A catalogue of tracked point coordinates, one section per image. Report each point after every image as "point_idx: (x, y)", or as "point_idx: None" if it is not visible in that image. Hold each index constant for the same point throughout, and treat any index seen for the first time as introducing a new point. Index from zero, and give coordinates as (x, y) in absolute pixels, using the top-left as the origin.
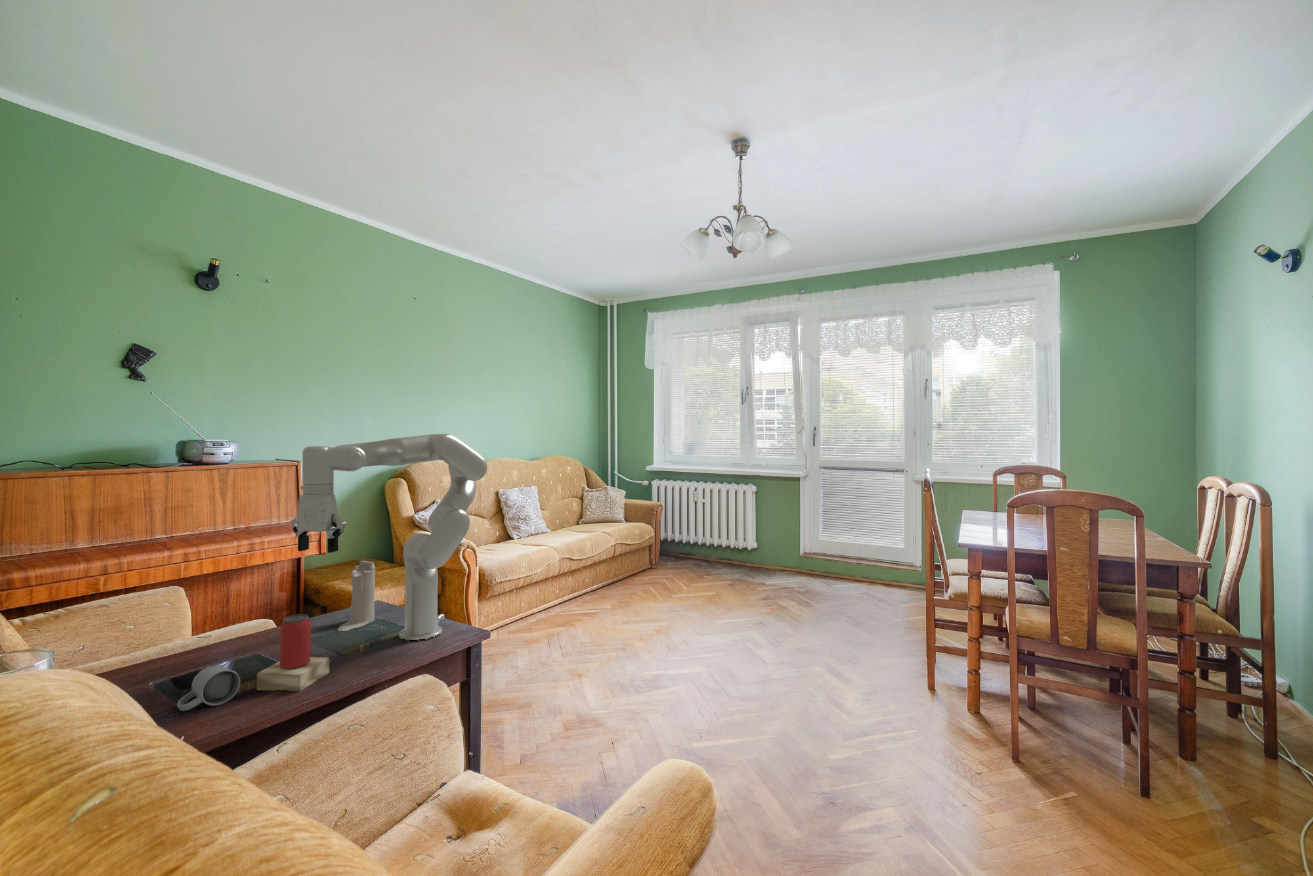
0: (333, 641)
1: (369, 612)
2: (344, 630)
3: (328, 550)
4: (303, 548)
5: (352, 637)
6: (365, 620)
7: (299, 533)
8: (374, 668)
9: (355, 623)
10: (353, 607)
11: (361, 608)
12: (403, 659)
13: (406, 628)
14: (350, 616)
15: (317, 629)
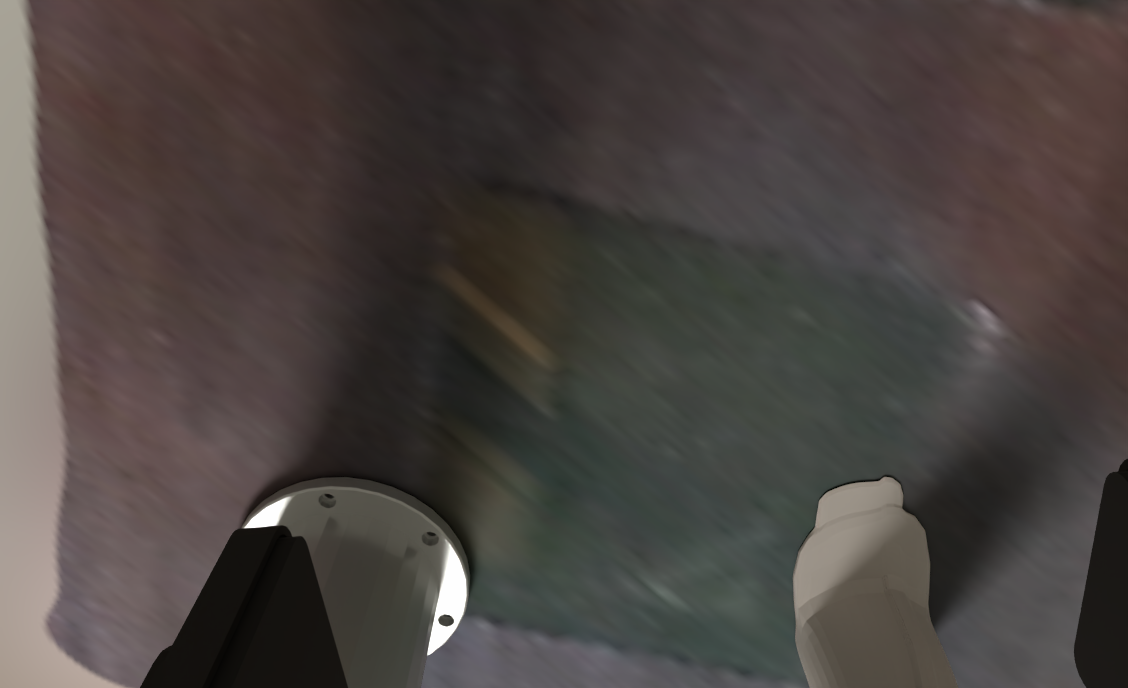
0: (758, 341)
1: (814, 672)
2: (838, 491)
3: (238, 551)
4: (1119, 570)
5: (698, 425)
6: (810, 619)
7: None
8: (118, 82)
9: (852, 582)
10: (905, 659)
11: (850, 668)
12: (95, 253)
13: (365, 541)
14: (908, 612)
15: (1030, 460)
